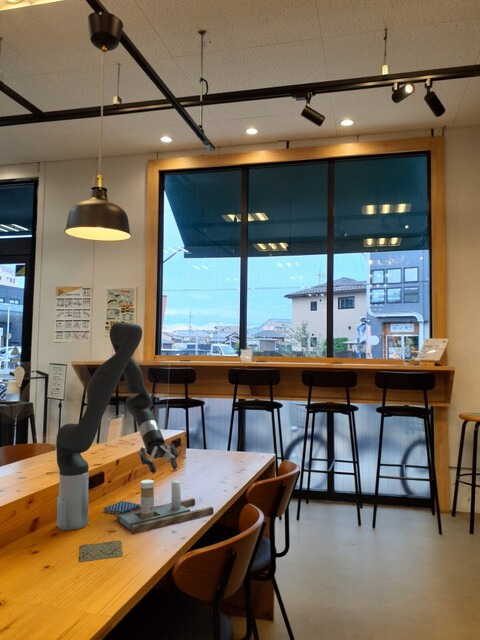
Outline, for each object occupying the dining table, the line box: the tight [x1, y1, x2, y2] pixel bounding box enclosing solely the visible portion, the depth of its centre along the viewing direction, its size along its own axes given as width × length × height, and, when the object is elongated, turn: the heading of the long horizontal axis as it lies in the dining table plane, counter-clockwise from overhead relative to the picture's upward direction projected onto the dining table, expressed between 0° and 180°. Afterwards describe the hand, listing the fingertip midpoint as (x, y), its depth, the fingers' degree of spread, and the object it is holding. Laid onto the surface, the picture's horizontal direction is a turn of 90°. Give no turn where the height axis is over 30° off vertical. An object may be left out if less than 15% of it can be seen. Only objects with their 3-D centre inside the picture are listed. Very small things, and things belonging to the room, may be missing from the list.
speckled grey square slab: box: [78, 540, 124, 563], centre depth 136 cm, size 12×12×1 cm
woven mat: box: [102, 500, 141, 516], centre depth 172 cm, size 10×11×2 cm
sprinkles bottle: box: [139, 479, 155, 520], centre depth 160 cm, size 5×5×13 cm
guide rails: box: [116, 498, 214, 534], centre depth 164 cm, size 30×14×2 cm, turn 126°
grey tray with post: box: [119, 480, 191, 531], centre depth 162 cm, size 22×9×11 cm, turn 126°
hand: (165, 470), depth 174 cm, fingers open, 8 cm apart
